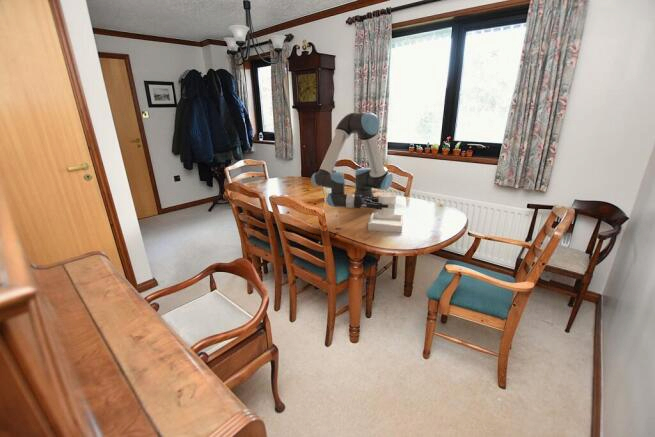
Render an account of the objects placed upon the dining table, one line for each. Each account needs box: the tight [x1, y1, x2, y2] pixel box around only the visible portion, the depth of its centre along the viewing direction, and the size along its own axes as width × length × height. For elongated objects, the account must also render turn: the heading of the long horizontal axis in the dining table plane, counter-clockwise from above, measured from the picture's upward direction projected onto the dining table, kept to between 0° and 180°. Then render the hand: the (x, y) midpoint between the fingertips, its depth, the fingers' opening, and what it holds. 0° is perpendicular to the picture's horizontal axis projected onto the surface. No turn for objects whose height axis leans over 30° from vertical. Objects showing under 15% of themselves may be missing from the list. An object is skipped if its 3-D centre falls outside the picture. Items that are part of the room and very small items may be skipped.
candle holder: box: [377, 191, 397, 217], centre depth 171 cm, size 10×10×12 cm
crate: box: [367, 212, 404, 234], centre depth 175 cm, size 18×18×4 cm
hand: (395, 203), depth 169 cm, fingers closed on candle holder, 9 cm apart
